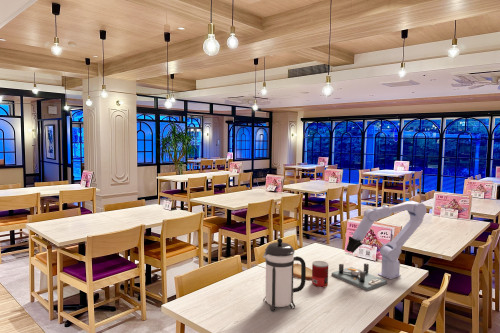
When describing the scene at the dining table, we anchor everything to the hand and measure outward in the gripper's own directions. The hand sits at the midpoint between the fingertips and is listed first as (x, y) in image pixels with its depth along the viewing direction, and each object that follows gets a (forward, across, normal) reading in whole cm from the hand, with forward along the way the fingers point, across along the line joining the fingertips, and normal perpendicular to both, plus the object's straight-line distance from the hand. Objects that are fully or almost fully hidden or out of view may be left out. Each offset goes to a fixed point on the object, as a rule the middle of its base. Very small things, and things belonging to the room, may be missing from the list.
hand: (349, 251), depth 184 cm
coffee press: (+34, +40, -4) cm, 52 cm away
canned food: (+22, +12, -1) cm, 25 cm away
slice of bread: (+25, +4, -15) cm, 29 cm away
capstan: (+10, -4, +7) cm, 12 cm away
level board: (+10, -4, +10) cm, 15 cm away
